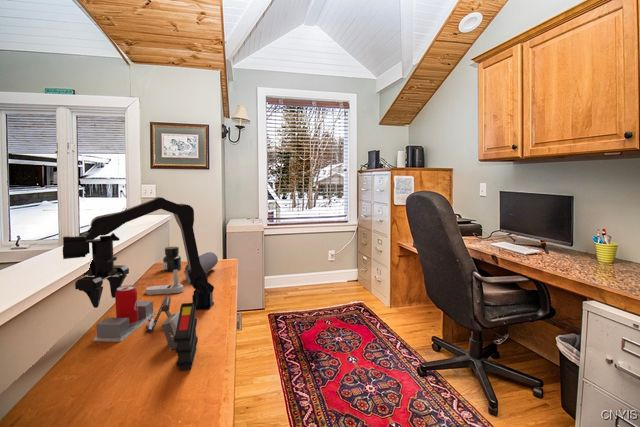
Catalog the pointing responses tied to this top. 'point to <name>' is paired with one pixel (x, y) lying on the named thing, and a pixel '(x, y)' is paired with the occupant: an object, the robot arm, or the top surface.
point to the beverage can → (127, 303)
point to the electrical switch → (171, 329)
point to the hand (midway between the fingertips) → (105, 302)
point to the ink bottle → (171, 259)
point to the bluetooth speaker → (207, 261)
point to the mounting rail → (132, 328)
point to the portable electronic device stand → (163, 308)
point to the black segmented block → (186, 336)
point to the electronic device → (166, 287)
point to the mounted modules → (122, 322)
